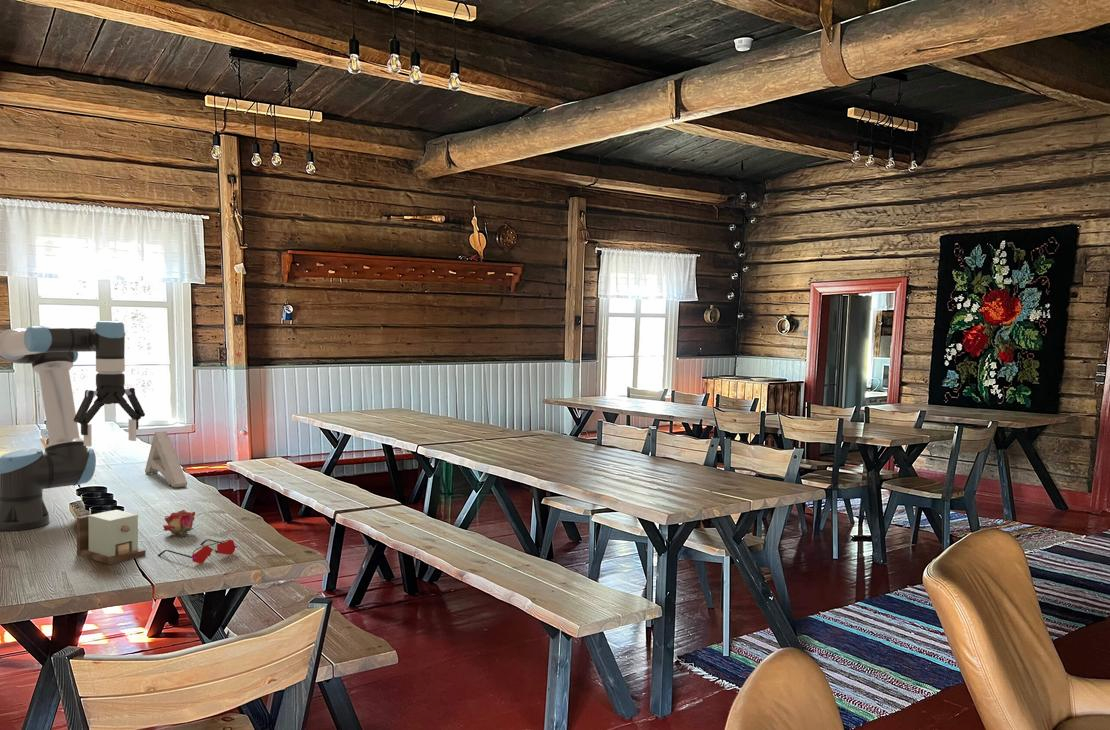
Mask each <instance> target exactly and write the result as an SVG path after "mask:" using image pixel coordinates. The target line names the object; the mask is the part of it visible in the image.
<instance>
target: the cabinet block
mask: <svg viewBox="0 0 1110 730" xmlns="http://www.w3.org/2000/svg"><path fill="white" fill-rule="evenodd" d="M107 511H108V512H107ZM107 511H103V513H102V512H97V513H98V514H97V513H93V515H92V514H87V515H88V521H89V551H91V552H95V553H98V554H102V555H105V556H108V557H111V556H115V545H116V544H120V543H125V542H127V543H129V550H130V551H135V550H138V548H139V540H138V539H139V538H138V537H139V536H138V535H139V532H138V531H139V527H138V526H139V523H138V520H139V515H138V514H136V513H132V512H128V511H125V510H120V509H114V510H107Z"/></svg>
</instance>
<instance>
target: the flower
mask: <svg viewBox="0 0 1110 730" xmlns="http://www.w3.org/2000/svg"><path fill="white" fill-rule="evenodd" d="M195 515H196V512H195V511H192V512H191V511H187V510H185V509H183V510H179V511H177V512H171V514H170V515H165V516H164V520H165V522H166V524H164V525H163V526H162V528H163V531H166V532H167V531H169V532H171V535H180V534H181V535H182V537H183V538H184V537H186V534H188V532H191V531H192V530H194V529H195V528H196V527H198V526H199V524H198V525H196V526H195V527H193V524H194V521H195Z"/></svg>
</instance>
